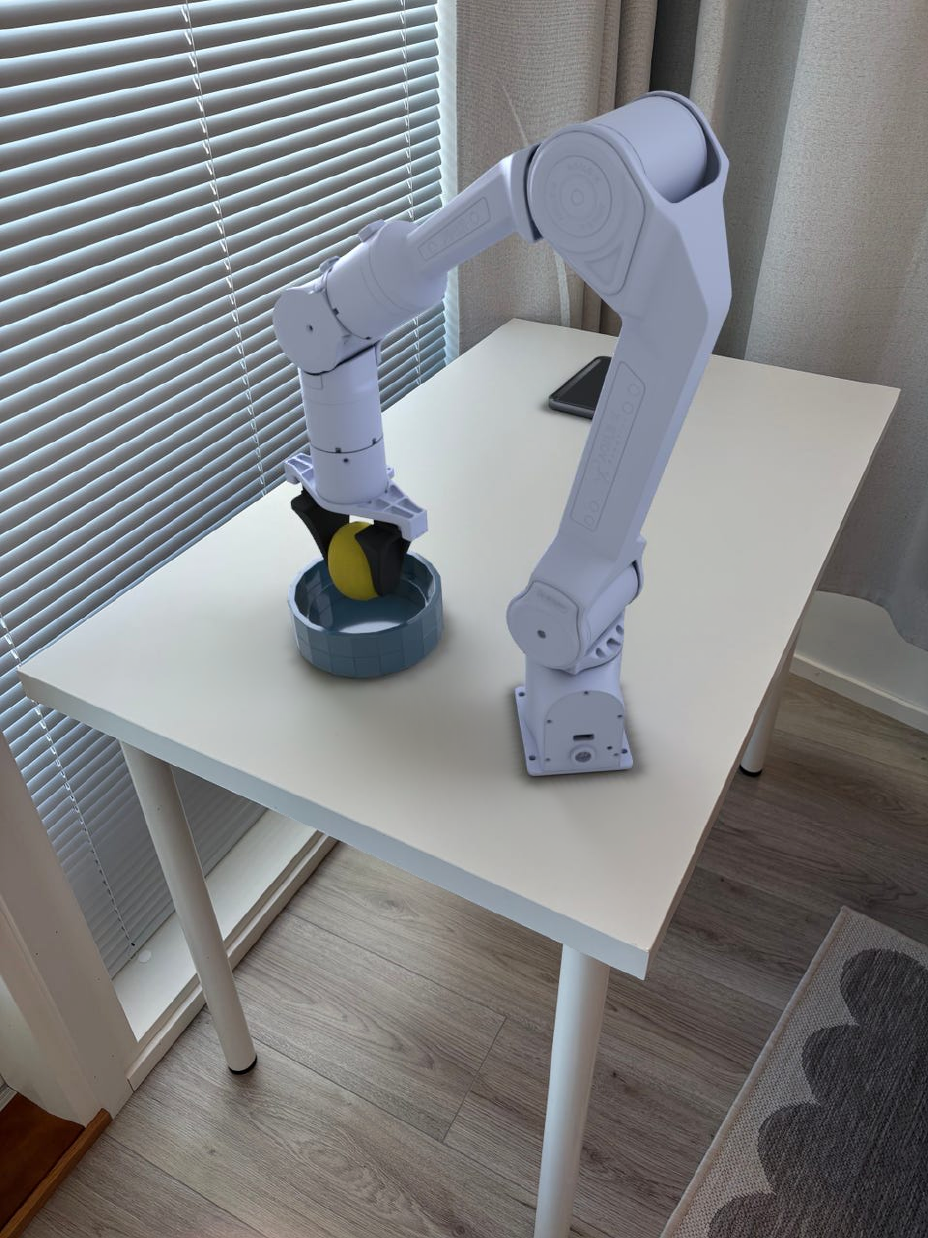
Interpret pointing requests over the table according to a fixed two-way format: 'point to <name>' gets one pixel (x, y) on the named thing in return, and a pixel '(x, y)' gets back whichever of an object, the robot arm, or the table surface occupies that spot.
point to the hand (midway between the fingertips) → (363, 577)
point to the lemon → (350, 563)
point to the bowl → (366, 621)
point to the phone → (582, 389)
